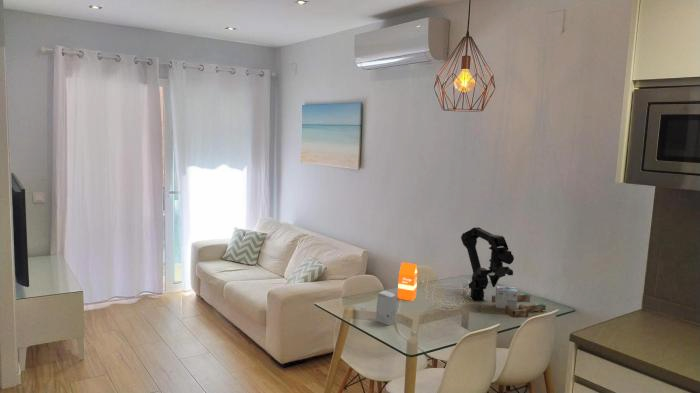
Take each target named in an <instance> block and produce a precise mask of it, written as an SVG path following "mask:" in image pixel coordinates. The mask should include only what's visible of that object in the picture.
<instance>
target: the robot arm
mask: <svg viewBox="0 0 700 393" xmlns="http://www.w3.org/2000/svg"><path fill="white" fill-rule="evenodd" d="M460 238H461V242H462V245H463V247H465V248H466V250H467V253H468V258H469V262H470V265H471V269H472V276H471V282H469V283H468V288H469V289H470V295H469V296H470V297H471V298H472V299H473V300H474V301H477V302H478V301H479V302H480V301H485V299H484V297H485V291H484V290H486V289H487V286H489V280H490V282H491V286H492V287H493V288H496V286H497V283H498V282H499V280H500V278H503V277H505V276H514V270H513V269H512V268H510V267H509V266H504V264H507V265H511V264H512V263H513V262H514V260H515V257H514V254H512V251H511V250H509V246H508V244H507V241H506V239H505V236H503V235H499V234H493V233H490V232H489V231H487V230H485V229H483V228H481V227H472V228H471V229H469V230H467V231H466V232H463V233H461V236H460ZM478 238H480V239H483V241H486V242H487V243H488V245H490V247H488V250H491V253H490V259H489V260H488V262H489V264H490V265H489V266H488V269H487V268H485V267H482V266H481V263H480V257H479V255H478V251H477V244H478ZM488 277H489V278H488ZM470 297H469V298H470ZM471 298H470V299H471ZM472 299H471V300H472ZM473 300H472V301H473Z"/></svg>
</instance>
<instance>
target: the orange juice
mask: <svg viewBox="0 0 700 393" xmlns="http://www.w3.org/2000/svg"><path fill="white" fill-rule="evenodd" d="M417 285H418V264H415V263H410V262H409V263H408V262H401V265H400V268H399V273H398V286H397V295H398V297H397V299H400V300H405V301H412V302H414V300H415V298H416V297H417V288H418V286H417Z"/></svg>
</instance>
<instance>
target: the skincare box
mask: <svg viewBox="0 0 700 393" xmlns="http://www.w3.org/2000/svg"><path fill="white" fill-rule="evenodd" d="M377 295H378V296H377V302H376V312H375V322H377V323H381V324H384V325H386V326H390V325H393V324H395V323H396V314H397V307H398V306H397V305H398V304H397V303H398V294H397V293H393V292H390V291H388V290H386V289H385V290H381V291H380V292H378V293H377Z"/></svg>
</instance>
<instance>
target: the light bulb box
mask: <svg viewBox="0 0 700 393" xmlns="http://www.w3.org/2000/svg"><path fill="white" fill-rule="evenodd" d="M518 293H519V292H518V289H517V288H516V287H515V286H501V285H500V286H499V285H495V295H496V297H495V302H494V306H495V307H496V308H497V309H504V310H505V306H510V307H511V308H513V309H514V310H517V306H518V304H517V303H518V302H517V295H519V294H518Z"/></svg>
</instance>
